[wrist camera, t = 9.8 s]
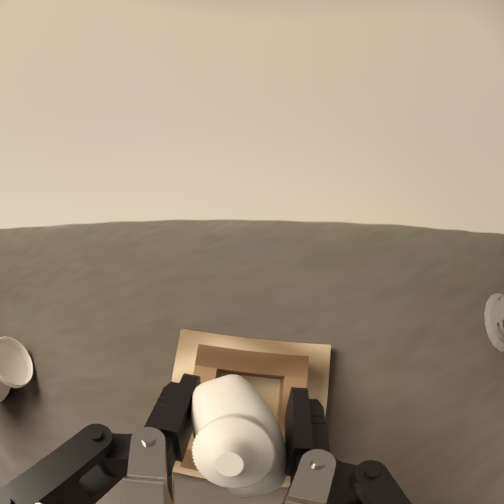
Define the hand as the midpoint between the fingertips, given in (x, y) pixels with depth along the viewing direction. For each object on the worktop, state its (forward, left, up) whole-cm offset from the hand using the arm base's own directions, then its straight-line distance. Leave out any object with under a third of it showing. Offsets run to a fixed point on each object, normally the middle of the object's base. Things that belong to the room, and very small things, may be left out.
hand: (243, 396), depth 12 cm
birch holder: (-2, 0, -18) cm, 18 cm away
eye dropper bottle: (-2, 0, -6) cm, 6 cm away
